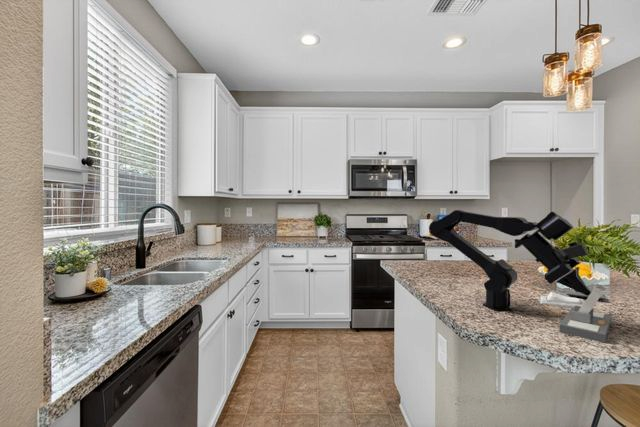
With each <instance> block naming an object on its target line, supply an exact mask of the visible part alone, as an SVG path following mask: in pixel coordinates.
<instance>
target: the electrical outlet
mask: <svg viewBox="0 0 640 427" xmlns="http://www.w3.org/2000/svg"><path fill="white" fill-rule="evenodd" d="M587 288H588V289H589V290H590V292H592V289H593V288H589V287H587ZM563 290H564V292H565V293H566V296H567V297H573V298H577V297H581V298H580V299H586V298H588V296H589V295H588V296H587V295H585V294H582V293H580V292H578V291H576V290H574V289H572V288H571V289H570V288H563ZM605 299H606V297H605V296H604V295H603V296H602V295H601V297H600V298H599V299H598V301H604V300H605Z"/></svg>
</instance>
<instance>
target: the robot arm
mask: <svg viewBox="0 0 640 427" xmlns="http://www.w3.org/2000/svg"><path fill="white" fill-rule="evenodd" d="M460 223H466V224H472V225H477V226H482V227H487V228H491V229H493V230H494V229H495V230H496V231H499V232H501V233H504V234H506V235H509V236H512V237H519V236H522V235H523V236H522V237H520V238H516V239H514V248H515V249H518V248H521V247H522V246H523V247H524V248H525V249H526V250H527V251H528V252H529V253H530V254H531V255H532V256H533V257H534V258H535V259H534V260H535V261H536V262H537V263H540V264H541V265H542V266H543V267H544V268H545V269H546V273H544V280H545V281H546V282H548V283H549V285H551V284H553V283H554V282H556V284H561V286H567V287H569V288H572V289H574V290H576V291H578V292H580V293H582V294H585V295H587V296H588V295H590V293H591V292H590V290H589V289H590V288H589V287H588V286H587V285H586V283H585V282H584V280H583V279H582V277H581V276H580V266H578V265H580V264H581V263H582V262H581V261H579V259H578V258H579V257H581V258H582V257H585V256H588V255H589V252H588V249H587V247H586V246H585V245H584V243H579V242H577V241H572V242H570V243H569V245H568V247H564V248H561V249H560V248H559V247H558V246H554V245H552V244H551V243H550V242H549V241H551V240H554V241H558V240H559V239H560V238H561V237H563V236H564V235H566V234H567V233H569V232H570V231H572V229H574V226H573V225H572V223H570V222H569V221H568V220H567V219H566V218H564V217H562V216H560V215H559V214H557V213H556V212H555V211H550V212H549V213H548V214H547V215H546V216H545V217H544V218H542V219H541V220H540V221H539V222H537V221H536V222H535V221H534V222H531V221H528V220H527V219H526V218H525V217H523V216H522V217H521V216H520V217H519V216H495V215H488V214H482V213H476V212H470V211H465V210H462V209H454V210H453V211H452V212H450V213H449V214H447V215H445V216H443V217H442V218H440V219H438V220H433V221H432V222H430V224H429V226H428V230H429V234H430V235H431V236H432V237H435V238H437V239H438V240H440V241H443V242H446V243H449V244H450V245H451V246H453V247H454V249H456V250H458V251H459V252H460V253H462V254H463V255H464V256H466V257H467V258H468V259H469V260H471V261H472V262H473V263H474V264H476V265H477V266H479V268H481V269H482V270H483V271H484V273H485V274H486V276H487V278H488V280H487V281H485V282H484V283H483V285H484V288H485V290H486V291H485V303H484V302H483V303H482V306H484V307H486V308H488V309H491V310H494V311H497V312H501V311H513V310H514V307H511V293H510V291H511V290H510V287H511V286H512V284H515V283H516V282H517V280H518V273H517V271H516V270H515V269H514V266H513V265H510V264H509V263H507V261H506V260H504V259H499V260H495V259H493V258H491V257H490V256H488V255H487V254H486V253H485V252H483V251H482V250H480V249H479V248H477V247H476V246H475V245H473V244H472V243H471V242H469V241H467V240H466V239H465V238H463V237H462V236H461V235H460V234H459V233H458V232H457V230H456V229H455V227H456V226H458V225H459V224H460ZM535 230H536V231H535ZM531 231H535V232H533V233H532V234H529V233H528V232H531ZM577 257H578V258H577ZM575 267H576V268H575ZM588 288H589V289H588Z"/></svg>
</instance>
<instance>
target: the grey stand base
mask: <svg viewBox="0 0 640 427" xmlns="http://www.w3.org/2000/svg"><path fill="white" fill-rule="evenodd" d="M580 308H581V306H577V305H575V308H570V310H569V312H568V313H567V314H566V315H565V317H564V318H563V320H561V322H560V324H559V333H562V334H566V335H571V336H575V337H579V338H584V339H587V340H592V341H596V342H599V343H605V344H606V342H607V339H608V336H609V332H610V329H611V326H612V322H613V315H612V314H607V313H601V312H597V311H594V307H593V308H592V309H591V311H590V312H589V313H588V314H587V313H582V312H578V311H579V309H580Z"/></svg>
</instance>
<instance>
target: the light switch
mask: <svg viewBox="0 0 640 427" xmlns="http://www.w3.org/2000/svg"><path fill="white" fill-rule="evenodd" d="M585 301H586V299H584V298H577V297H573V296H566V295H562V294H559V293H556V292H553V291H551V292H550V293H549V294H548V295H541V296H540V304H541V305H548V306H554V307H561V308H566V307H568V308H567V309H572V308H575V305H577V306H582V305H583V303H584V302H585Z"/></svg>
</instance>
